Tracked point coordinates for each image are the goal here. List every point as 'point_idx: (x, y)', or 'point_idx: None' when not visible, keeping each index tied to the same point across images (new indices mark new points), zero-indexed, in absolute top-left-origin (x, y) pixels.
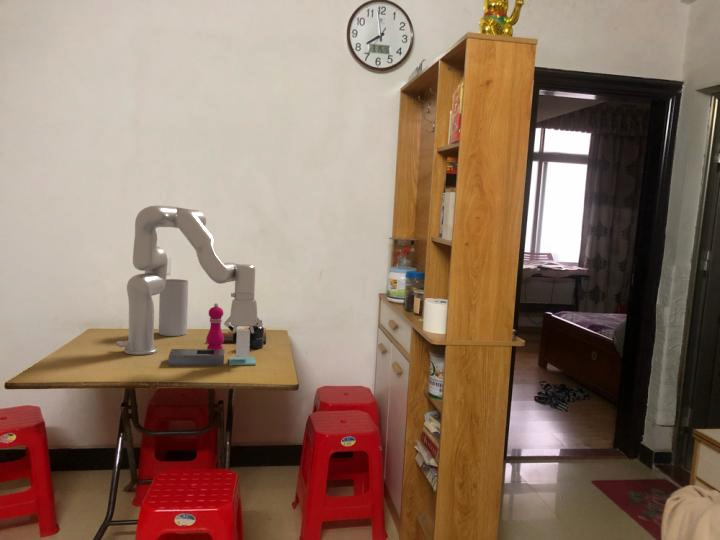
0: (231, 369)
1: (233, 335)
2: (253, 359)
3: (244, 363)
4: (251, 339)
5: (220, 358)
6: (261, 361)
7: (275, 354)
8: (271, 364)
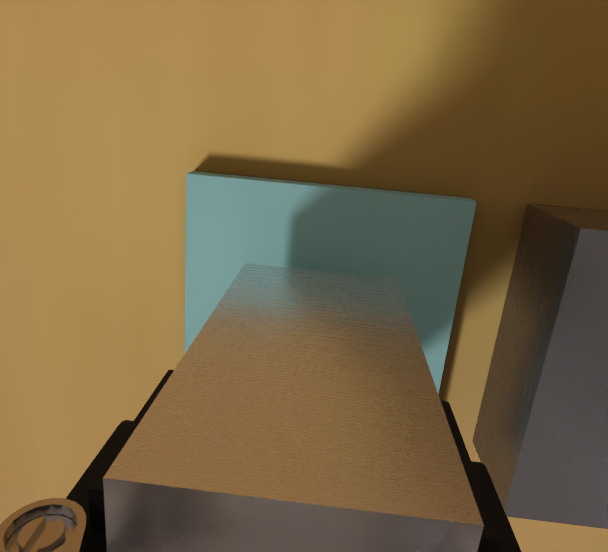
0: (473, 29)
1: (504, 533)
2: None
3: (307, 186)
4: None
5: (605, 222)
6: (130, 321)
7: None
8: (33, 200)
